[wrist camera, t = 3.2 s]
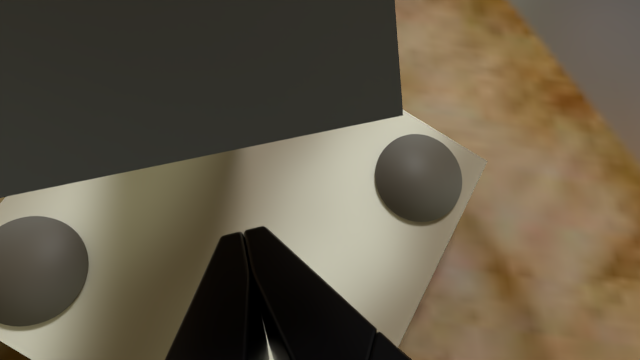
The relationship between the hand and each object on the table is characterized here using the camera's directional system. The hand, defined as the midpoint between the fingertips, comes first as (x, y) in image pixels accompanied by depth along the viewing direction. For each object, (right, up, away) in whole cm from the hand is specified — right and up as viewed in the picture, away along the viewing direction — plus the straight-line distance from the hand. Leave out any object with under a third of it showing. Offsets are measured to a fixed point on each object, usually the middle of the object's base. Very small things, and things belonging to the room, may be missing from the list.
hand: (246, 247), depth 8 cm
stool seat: (-2, -1, +8) cm, 8 cm away
